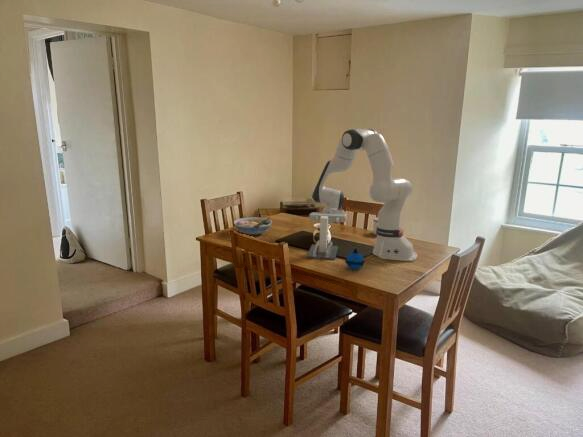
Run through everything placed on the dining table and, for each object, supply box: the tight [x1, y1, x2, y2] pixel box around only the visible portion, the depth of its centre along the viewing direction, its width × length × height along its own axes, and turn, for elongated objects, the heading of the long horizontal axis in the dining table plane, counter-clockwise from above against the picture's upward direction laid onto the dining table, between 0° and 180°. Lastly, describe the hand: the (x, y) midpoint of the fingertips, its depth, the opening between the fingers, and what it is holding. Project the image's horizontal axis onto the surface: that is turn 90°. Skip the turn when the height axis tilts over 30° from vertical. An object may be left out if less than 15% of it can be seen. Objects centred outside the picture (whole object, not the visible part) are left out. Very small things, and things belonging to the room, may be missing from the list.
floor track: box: [306, 239, 339, 261], centre depth 226 cm, size 20×14×4 cm
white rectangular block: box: [319, 216, 329, 253], centre depth 224 cm, size 5×4×18 cm
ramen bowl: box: [233, 216, 273, 236], centre depth 258 cm, size 25×23×8 cm
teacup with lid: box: [372, 216, 378, 236], centre depth 263 cm, size 12×9×12 cm
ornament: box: [345, 248, 365, 271], centre depth 202 cm, size 9×9×10 cm
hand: (326, 220), depth 234 cm, fingers open, 8 cm apart
